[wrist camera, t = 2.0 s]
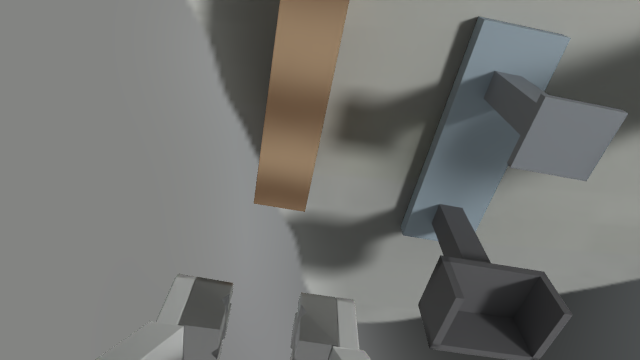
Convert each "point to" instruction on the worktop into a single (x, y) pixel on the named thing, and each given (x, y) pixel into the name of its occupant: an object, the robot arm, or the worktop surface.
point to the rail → (298, 99)
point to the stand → (482, 181)
